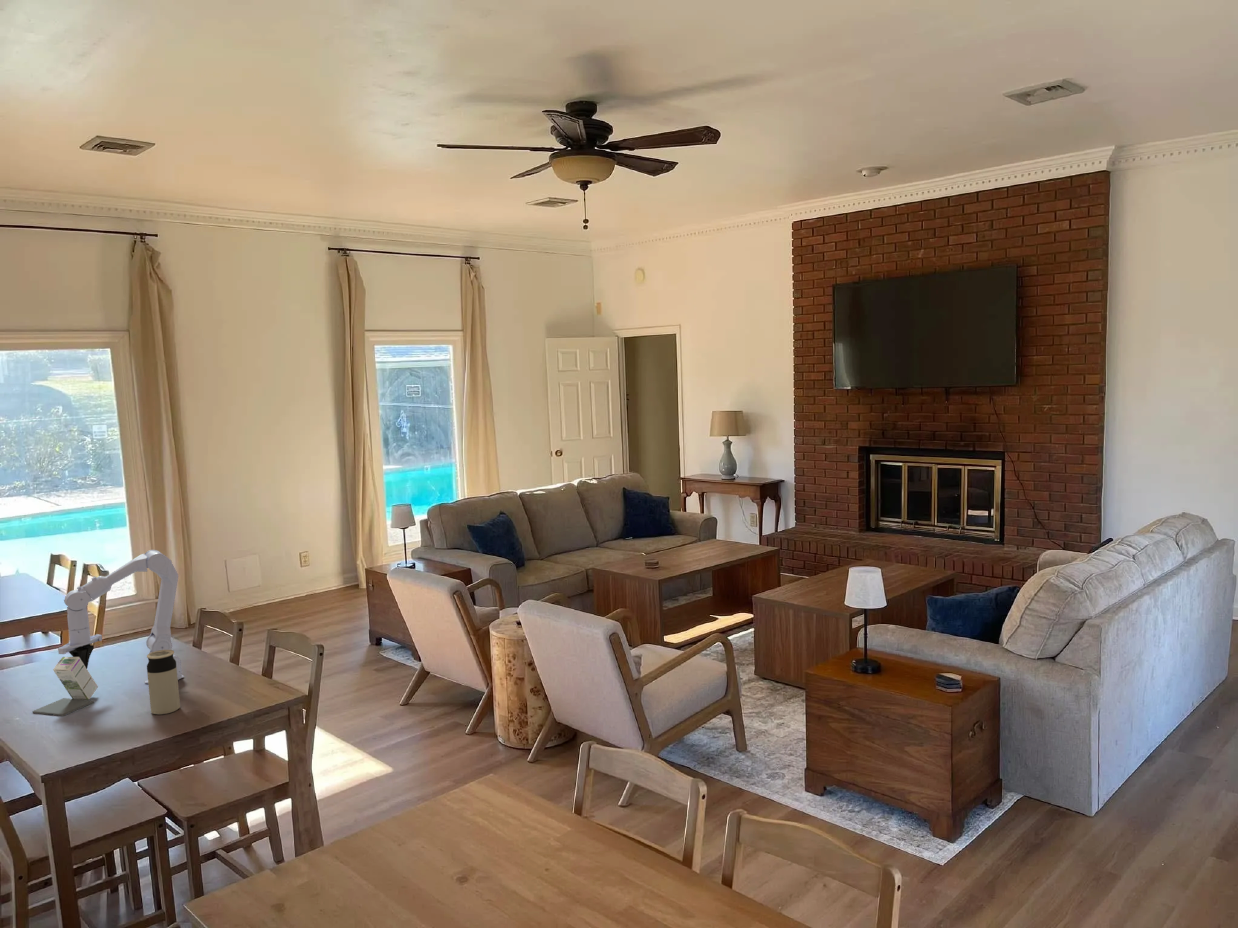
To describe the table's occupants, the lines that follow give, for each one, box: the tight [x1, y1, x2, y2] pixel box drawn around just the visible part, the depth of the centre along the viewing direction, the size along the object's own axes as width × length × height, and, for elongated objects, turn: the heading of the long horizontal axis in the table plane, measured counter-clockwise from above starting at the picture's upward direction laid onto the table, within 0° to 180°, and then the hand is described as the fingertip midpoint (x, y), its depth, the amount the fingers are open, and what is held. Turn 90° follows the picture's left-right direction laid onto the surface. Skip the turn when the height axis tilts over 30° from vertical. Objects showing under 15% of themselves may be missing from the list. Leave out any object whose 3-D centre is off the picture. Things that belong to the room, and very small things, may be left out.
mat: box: [32, 697, 95, 717], centre depth 276 cm, size 12×11×1 cm
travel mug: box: [146, 649, 181, 716], centre depth 270 cm, size 8×8×18 cm
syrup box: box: [52, 656, 99, 700], centre depth 280 cm, size 6×6×14 cm
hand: (83, 668), depth 284 cm, fingers closed
